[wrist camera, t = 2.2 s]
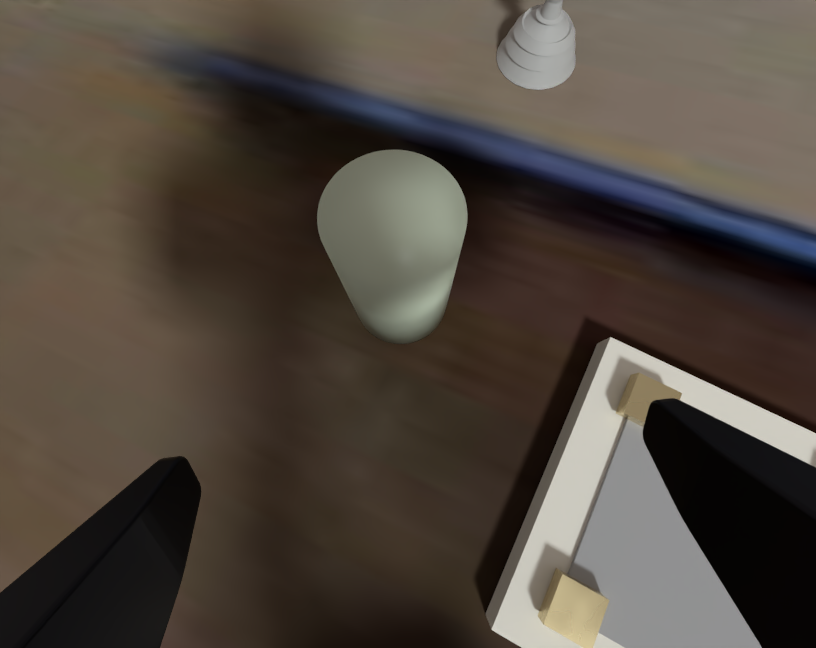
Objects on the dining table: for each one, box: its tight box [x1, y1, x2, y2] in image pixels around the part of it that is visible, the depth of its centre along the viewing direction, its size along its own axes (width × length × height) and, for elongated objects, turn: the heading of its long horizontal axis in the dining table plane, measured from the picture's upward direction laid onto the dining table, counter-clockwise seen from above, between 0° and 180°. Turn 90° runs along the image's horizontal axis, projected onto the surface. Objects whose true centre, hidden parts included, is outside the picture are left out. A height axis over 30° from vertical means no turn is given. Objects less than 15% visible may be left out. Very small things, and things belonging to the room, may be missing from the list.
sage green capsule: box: [317, 150, 468, 344], centre depth 18 cm, size 5×5×9 cm
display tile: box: [486, 337, 816, 648], centre depth 18 cm, size 14×14×2 cm
